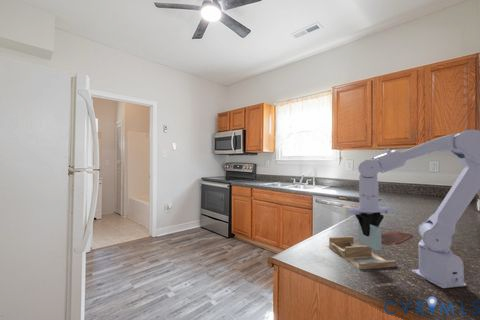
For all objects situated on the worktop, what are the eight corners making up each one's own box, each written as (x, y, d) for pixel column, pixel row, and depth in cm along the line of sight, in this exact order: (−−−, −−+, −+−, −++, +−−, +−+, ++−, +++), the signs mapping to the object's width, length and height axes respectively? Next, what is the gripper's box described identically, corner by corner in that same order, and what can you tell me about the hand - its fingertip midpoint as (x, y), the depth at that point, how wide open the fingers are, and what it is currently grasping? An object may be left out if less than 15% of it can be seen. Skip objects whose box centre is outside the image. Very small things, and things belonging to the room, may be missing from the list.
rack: (396, 267, 71) (396, 255, 71) (360, 271, 69) (360, 258, 69) (355, 245, 91) (355, 235, 91) (326, 247, 89) (326, 237, 89)
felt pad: (387, 265, 72) (387, 264, 72) (365, 267, 71) (365, 266, 71) (373, 257, 78) (373, 256, 78) (353, 259, 77) (353, 258, 77)
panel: (381, 249, 70) (381, 227, 71) (375, 250, 70) (375, 228, 70) (363, 240, 78) (363, 221, 78) (358, 241, 78) (358, 221, 78)
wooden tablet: (393, 228, 110) (417, 231, 102) (394, 233, 110) (418, 236, 101) (363, 238, 97) (387, 242, 88) (364, 243, 97) (388, 248, 88)
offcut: (360, 249, 85) (360, 245, 85) (353, 250, 85) (353, 246, 85) (354, 246, 88) (354, 242, 88) (347, 246, 88) (347, 242, 88)
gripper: (378, 193, 80) (379, 230, 79) (342, 194, 77) (342, 232, 77) (395, 195, 73) (395, 236, 72) (355, 197, 70) (356, 239, 70)
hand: (369, 235), depth 74 cm, fingers closed on panel, 2 cm apart
